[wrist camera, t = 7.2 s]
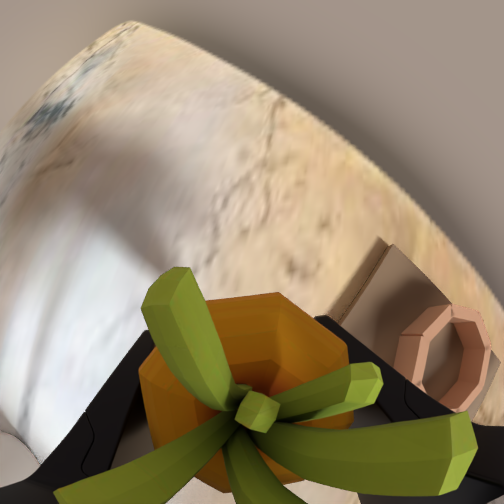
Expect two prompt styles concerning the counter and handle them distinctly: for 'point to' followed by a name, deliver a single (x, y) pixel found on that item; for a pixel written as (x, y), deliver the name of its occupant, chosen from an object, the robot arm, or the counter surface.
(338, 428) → the carrot
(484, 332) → the octagonal ring
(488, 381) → the walnut board
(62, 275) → the counter surface
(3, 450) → the milk bottle
